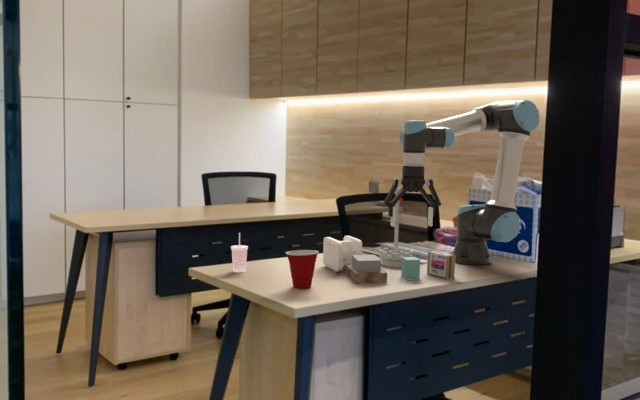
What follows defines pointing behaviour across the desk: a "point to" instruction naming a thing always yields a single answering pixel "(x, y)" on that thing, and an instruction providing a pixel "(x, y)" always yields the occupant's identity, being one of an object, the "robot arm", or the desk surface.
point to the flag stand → (395, 244)
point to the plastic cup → (302, 267)
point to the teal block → (410, 268)
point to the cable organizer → (340, 252)
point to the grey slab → (366, 263)
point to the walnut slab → (366, 276)
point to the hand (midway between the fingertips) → (411, 226)
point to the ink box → (441, 264)
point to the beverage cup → (239, 257)
